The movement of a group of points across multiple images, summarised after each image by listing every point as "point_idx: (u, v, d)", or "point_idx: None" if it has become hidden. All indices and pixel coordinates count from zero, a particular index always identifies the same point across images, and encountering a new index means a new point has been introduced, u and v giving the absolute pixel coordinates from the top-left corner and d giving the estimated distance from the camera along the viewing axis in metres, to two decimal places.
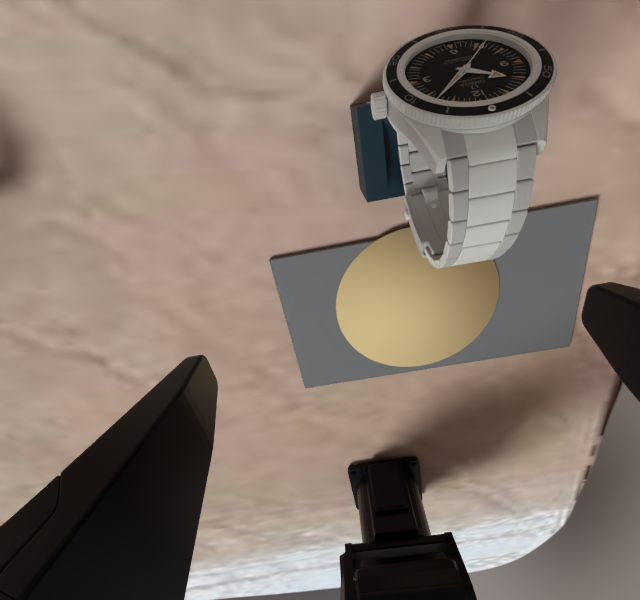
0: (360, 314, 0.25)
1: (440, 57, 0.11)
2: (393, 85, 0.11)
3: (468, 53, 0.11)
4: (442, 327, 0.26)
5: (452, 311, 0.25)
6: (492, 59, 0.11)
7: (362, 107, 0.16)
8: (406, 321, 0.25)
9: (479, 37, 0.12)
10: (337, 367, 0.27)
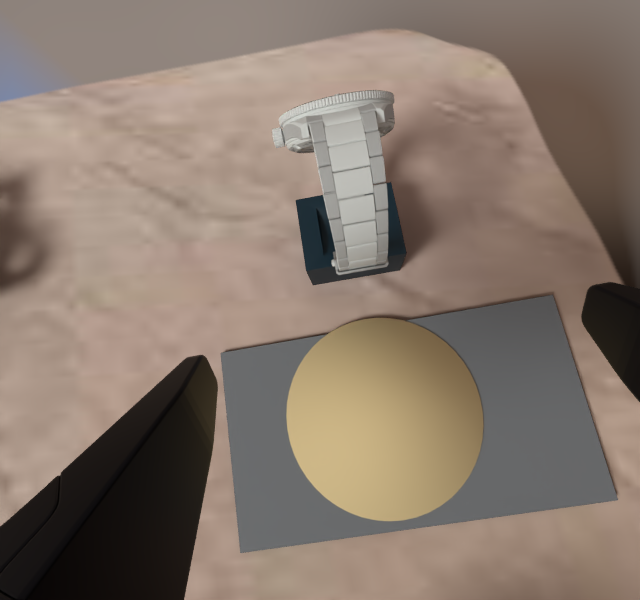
0: (315, 426, 0.21)
1: None
2: None
3: None
4: (420, 452, 0.20)
5: (429, 428, 0.20)
6: None
7: (300, 200, 0.21)
8: (372, 439, 0.20)
9: None
10: (286, 515, 0.20)
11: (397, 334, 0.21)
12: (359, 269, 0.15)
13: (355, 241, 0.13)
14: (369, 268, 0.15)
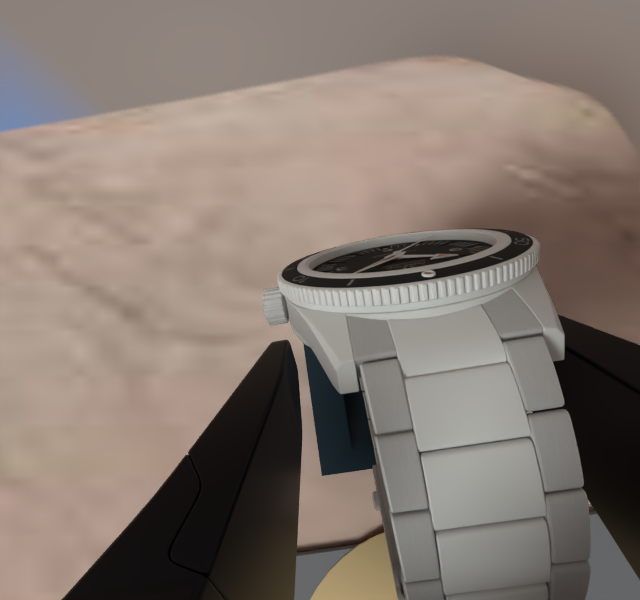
0: None
1: (368, 254, 0.08)
2: (286, 272, 0.07)
3: (406, 249, 0.08)
4: None
5: None
6: (438, 249, 0.08)
7: None
8: None
9: (422, 238, 0.09)
10: None
11: None
12: None
13: None
14: None
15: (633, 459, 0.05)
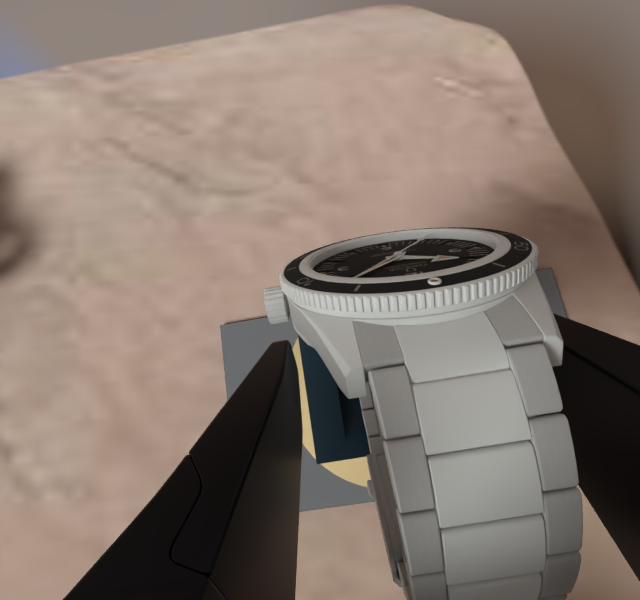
0: None
1: (368, 253, 0.08)
2: (289, 272, 0.07)
3: (405, 248, 0.08)
4: None
5: None
6: (438, 249, 0.08)
7: None
8: None
9: (420, 236, 0.09)
10: None
11: None
12: None
13: None
14: None
15: (633, 459, 0.05)
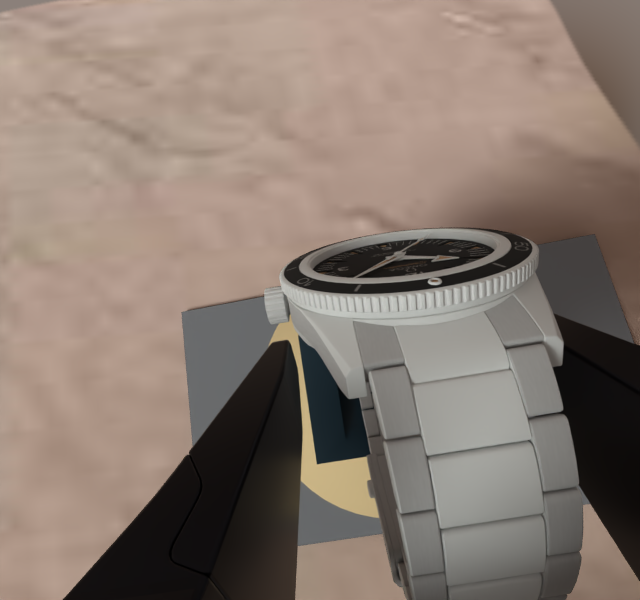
0: None
1: (368, 253, 0.08)
2: (289, 272, 0.07)
3: (405, 248, 0.08)
4: None
5: None
6: (438, 249, 0.08)
7: None
8: None
9: (420, 236, 0.09)
10: None
11: None
12: None
13: None
14: None
15: (632, 459, 0.05)
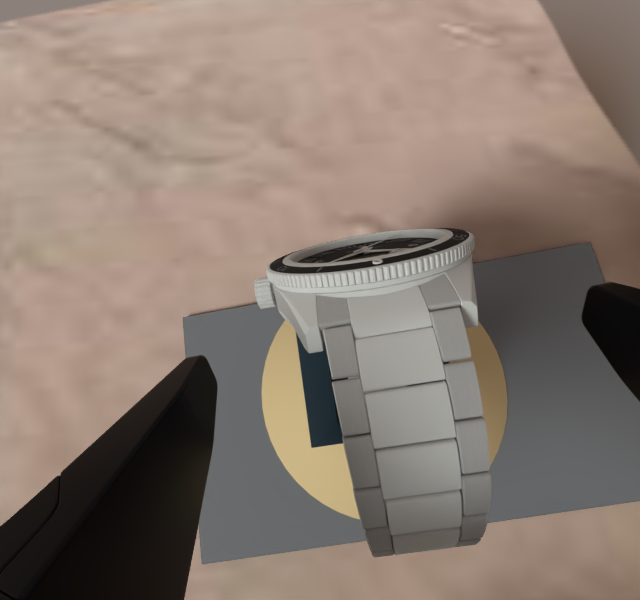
0: (298, 404, 0.17)
1: (344, 250, 0.10)
2: (274, 264, 0.09)
3: (376, 245, 0.10)
4: None
5: None
6: (400, 244, 0.09)
7: None
8: None
9: (391, 237, 0.10)
10: (260, 516, 0.16)
11: None
12: None
13: (414, 548, 0.07)
14: None
15: None
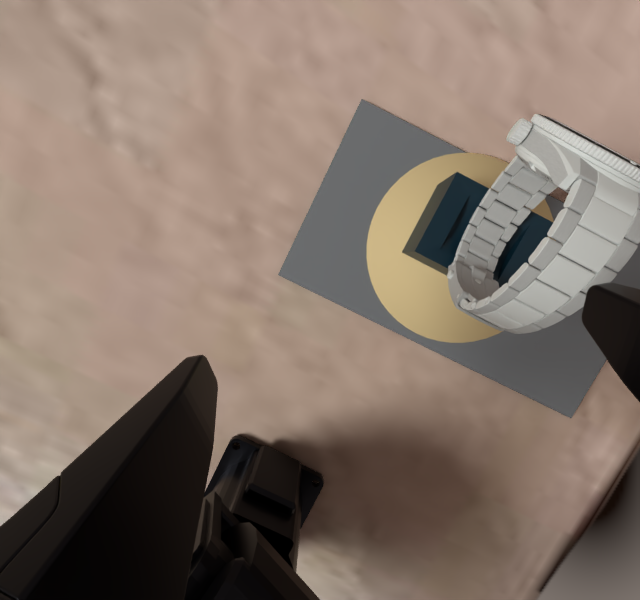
0: (401, 223, 0.21)
1: None
2: (546, 117, 0.12)
3: None
4: None
5: None
6: None
7: (461, 175, 0.18)
8: None
9: None
10: (331, 273, 0.22)
11: None
12: (477, 317, 0.14)
13: (508, 313, 0.12)
14: (487, 323, 0.14)
15: None
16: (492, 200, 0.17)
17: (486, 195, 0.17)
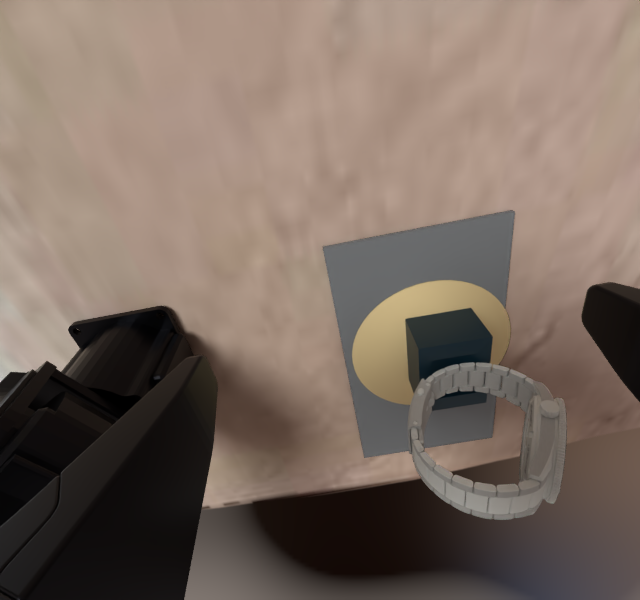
0: (427, 303, 0.23)
1: None
2: (566, 423, 0.16)
3: None
4: (399, 373, 0.26)
5: None
6: None
7: (491, 340, 0.21)
8: None
9: None
10: (354, 285, 0.22)
11: None
12: (409, 441, 0.19)
13: (431, 475, 0.17)
14: (409, 447, 0.19)
15: None
16: (484, 371, 0.22)
17: (485, 365, 0.21)
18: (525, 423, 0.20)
